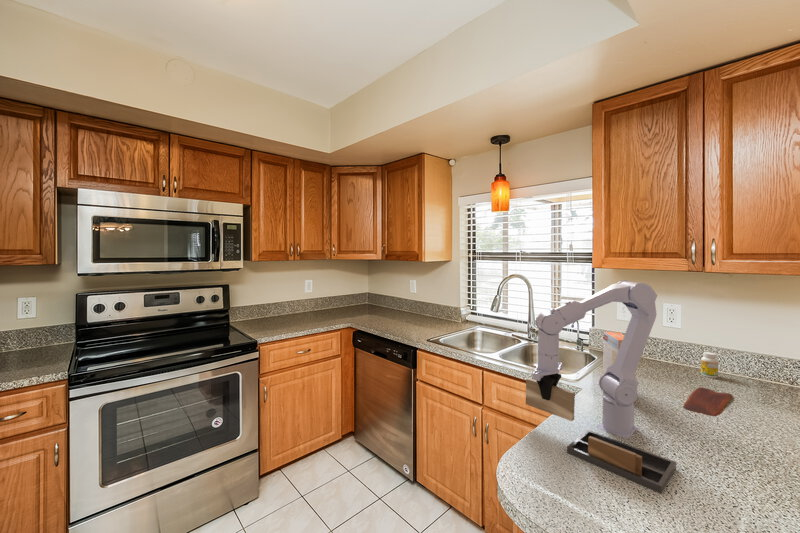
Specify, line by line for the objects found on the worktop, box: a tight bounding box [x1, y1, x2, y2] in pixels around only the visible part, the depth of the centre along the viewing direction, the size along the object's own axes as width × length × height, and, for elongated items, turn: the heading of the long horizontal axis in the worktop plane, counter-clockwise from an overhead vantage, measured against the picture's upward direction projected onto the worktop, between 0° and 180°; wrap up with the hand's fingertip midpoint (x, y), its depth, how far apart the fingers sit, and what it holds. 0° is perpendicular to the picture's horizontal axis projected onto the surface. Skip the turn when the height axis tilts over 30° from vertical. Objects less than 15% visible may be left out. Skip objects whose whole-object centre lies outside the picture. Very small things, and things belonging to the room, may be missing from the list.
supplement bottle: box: [700, 351, 719, 379], centre depth 144 cm, size 5×5×10 cm
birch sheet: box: [525, 377, 576, 422], centre depth 103 cm, size 2×14×8 cm, turn 40°
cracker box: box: [602, 331, 625, 375], centre depth 130 cm, size 14×6×21 cm, turn 168°
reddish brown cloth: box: [683, 386, 733, 417], centre depth 120 cm, size 27×10×2 cm, turn 128°
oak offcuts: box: [588, 436, 642, 476], centre depth 84 cm, size 3×11×6 cm, turn 40°
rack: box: [566, 429, 677, 494], centre depth 86 cm, size 13×20×2 cm, turn 40°
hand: (547, 398), depth 103 cm, fingers closed on birch sheet, 1 cm apart
